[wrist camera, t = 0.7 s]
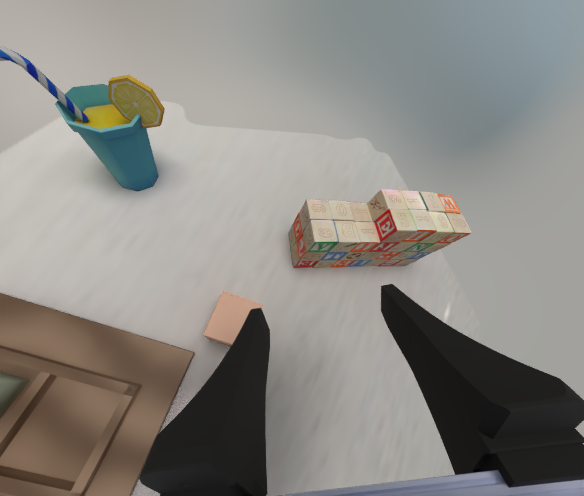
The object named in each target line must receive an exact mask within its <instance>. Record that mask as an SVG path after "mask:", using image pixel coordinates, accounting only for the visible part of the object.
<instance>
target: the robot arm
mask: <svg viewBox="0 0 584 496" xmlns="http://www.w3.org/2000/svg"><path fill="white" fill-rule="evenodd" d="M381 312H382V314H383V317H384V319H385V321H386V324H387V326H388V328H389V330H390V332H391V333H392V335H393V337H394V339H395V341H396V342H397V344H398V346H399V348H400V349H401V351H402V353H403V355H404V357H405V358H406V360H407V362H408V364H409V366H410V367H411V369H412V371H413V373H414V376H415V378H416V380H417V382H418V384H419V387H420V389H421V391H422V393H423V396H424V398H425V400H426V403H427V405H428V407H429V410H430V412H431V414H432V417H433V419H434V422H435V424H436V426H437V429H438V431H439V434H440V436H441V439H442V441H443V444H444V446H445V449H446V451H447V454H448V456H449V459H450V462H451V464H452V467H453V470H454V472H455V475H451V476H442V477H433V478H425V479H416V480H407V481H399V482H390V483H381V484H373V485H364V486H355V487H347V488H338V489H330V490H321V491H312V492H304V493H295V494H286V495H278V496H584V445H583V443H584V437H583V436H582V435H581V434H580V433H579V432H578V431H577V430H576V429H575V428H576V427H577V426H578V425H579V424H580V423H581V422H582V421H583V420H584V400H583V399H582V398H581V397H580V396H579V395H577V394H576V393H575V392H574V391H573V390H572V389H571V388H570V387H569V386H568V385H566V384H565V383H564V382H563V381H562V380H561V379H559V378H557V377H554V376H552V375H550V374H547V373H544V372H542V371H539V370H537V369H534V368H532V367H530V366H527V365H525V364H522V363H520V362H518V361H516V360H513V359H511V358H509V357H507V356H505V355H502V354H500V353H498V352H496V351H494V350H492V349H490V348H488V347H486V346H484V345H482V344H480V343H478V342H476V341H474V340H473V339H471V338H469V337H467V336H465V335H464V334H462V333H460V332H458V331H457V330H455V329H453V328H452V327H450V326H448V325H447V324H445V323H444V322H442V321H441V320H439V319H438V318H436V317H435V316H433V315H432V314H430V313H429V312H428V311H426V310H425V309H424V308H422V307H421V306H419V305H418V304H417V303H415V302H414V301H413V300H412V299H410V298H409V297H408V296H406V295H405V294H404V293H403V292H401V291H400V290H399V289H398V288H397V287H395V286H394V285H393V284H389V285H384V286H381ZM269 351H270V330H269V327H268V324H267V322H266V319H265V317H264V314H263V312H262V309H261V308H256V309H251V310H250V312H249V314H248V316H247V318H246V320H245V322H244V324H243V326H242V328H241V330H240V332H239V333H238V335H237V337H236V339H235V341H234V342H233V344H232V346H231V347H230V349H229V351H228V352H227V354H226V355H225V357H224V359H223V360H222V362H221V363H220V364H219V366H218V367H217V369H216V370H215V372H214V373H213V374H212V376H211V377H210V378H209V379H208V381H207V382H206V383H205V385H204V386H203V387H202V388H201V390H200V391H199V392H198V393H197V394H196V395H195V397H194V398H193V399H192V400H191V401H190V402H189V403H188V404H187V406H186V407H185V408H184V409H183V410H182V411H181V412H180V413H179V414H178V415H177V416H176V417H175V418H174V419H173V420H172V421H171V422H170V423H169V424H168V425H167V426H166V427H165V428H164V429H163V430H162V431H161V432H160V433H159V434H158V435H157V436H156V438H155V440H154V442H153V445H152V447H151V449H150V452H149V454H148V457H147V460H146V462H145V465H144V467H143V470H142V472H141V475H140V477H139V478H140V481H141V483H142V484H143V485H145V486H147V487H149V488H150V489H152V490H154V491H156V492H158V493H160V496H266V494H267V475H266V439H265V395H266V381H267V371H268V361H269Z"/></svg>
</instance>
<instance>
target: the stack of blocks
mask: <svg viewBox="0 0 584 496" xmlns="http://www.w3.org/2000/svg"><path fill="white" fill-rule="evenodd" d="M460 213H461V212H460V209H459V208H458V206H457V204H456V203H455V200H454V199H453V197H452V196H451V195H442V194H436V193H431V192H417V191H406V190H401V191H400V190H390V189H381V190H380V191H379V192H378V193H377V194H376V195H375V196H374V197H373V198H372V199H371V200H370V201H369V202H368V203H356V202H348V201H334V200H328V201H327V200H313V199H306V201H305V203H304V205H303V207H302V209H301V211H300V213H298V215H297V217H296V219H295V221H294V223H293V225H292V227H291V229H290V231H289V239H290V247H291V256H292V263H293V267H294V268H299V267H313V268H317V267H347V266H406V265H408V264H410V263H412V262H414V261H416V260H418V259H420V258H422V257H424V256H426V255H428V254H430V253H432V252H435V251H437V250H439V249H441V248H443V247H445V246H447V245H449V244H451V243H452V242H455V241H457V240H459V239H461V238H463V237H464V236H467V235H469V234H471V230H470V229H469V227H468V225H467V223H466V221H465V219H464V217H463V215H462V214H460Z"/></svg>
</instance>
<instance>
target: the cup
mask: <svg viewBox="0 0 584 496" xmlns="http://www.w3.org/2000/svg"><path fill="white" fill-rule="evenodd" d="M4 60H10V61H12V62H14V63H16V64H18V65H20V66H22V67H23V68H24V69H25V70H26V71H27V72H28V73H29V74H30V75H32V76H33V77H34V78H35V79H36V80H37V81H38V82H39V83H40V84H41V85H42V86H43V87H45V88H46V89H47V90H48V91H49V92H50V93H51V94H52V95H53V96H55V97H56V98H57V99H58V101H57V102H56V104H55V105H56V106H57V108H58V110H59V111H60V113H61V115H62V116H63V118H64V120H65V121H66V123H67V124H68V125H69V126H70V127H71V129H72V130H73V131H74V132H78V133H79V134H80V135H81V137H82V138H83V139H84V140H85V142H86V143H87V144H88V145H89V146H90V148H91V149H92V150H93V151H94V153H95V154H96V155H97V156H98V158H99V159H100V160H101V161H102V163H103V164H104V165H105V166H106V167H107V169H108V170H109V171H110V172H111V174H112V175H113V176H114V177H115V179H116V180H117V181H118V182H119V184H120V185H121V186H122V187H123V188H127V189H131V190H136V191H140V190H143V189H146V188H149V187H152V186H153V185H154V183H155V182H156V180H157V178H158V173H157V169H156V165H155V161H154V157H153V154H152V150H151V146H150V142H149V138H148V134H147V130H146V128H150V127H157V126H160V125H161V123H162V119H163V114H164V110H165V109H164V107H163V106H162V104H161V102H160V101H159V99H158V98H157V96H156V94H155V93H154V91H153V90H152V89H151V88H150V87H148V86H147V85H145V84H143V83H142V82H140V81H138V80H137V79H135V78H133V77H132V76H130V75H126V76H120V77H115V78H111V79H110V80H109V86H107V85H104V84H100V85H90V86H80V87H73V88H71V89H70V90H69V91H68V92H67V93H66V94H65V95H64V94H63V93H62V92H61V91H60V90H59V89H58V88H57V87H56V86H55V85H54V84H53V83H52V82H51V81H50V80H49V79H48V78H47V77H46V76H45V75H44V74H42V73H41V72H40V71H39V70H38V69H37V68H36V67H35V66H34V65H33V64H32V63H31V62H30V61H29V60H27V59H26V58H24V57H22V56H21V55H19V54H18V53H16V52H14V51H12V50H10V49H8V48H6V47H0V61H4Z"/></svg>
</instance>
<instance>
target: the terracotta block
mask: <svg viewBox="0 0 584 496" xmlns="http://www.w3.org/2000/svg"><path fill="white" fill-rule="evenodd" d="M262 307H263V305H262V304H260V303H257V302H254V301H251V300H248V299H245V298H242V297H239V296H236V295H233V294H230V293H227V292H224V291H222V294H221V296H220V298H219V300H218V303H217V305H216V307H215V309H214V312H213V314H212V316H211V318H210V321H209V323H208V325H207V327H206V330H205V332H204V334H203V335H204V336H205V337H206V338H208V339H210V340H213V341H217V342H220V343H223V344H226V345H229V346H232V344H233V342H234V341H235V339H236V337H237V335H238V333H239V332H240V330H241V328H242V326H243V324H244V322H245V320H246V318H247V316H248V314H249V312H250V310H251V309H256V308H261V309H262Z"/></svg>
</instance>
